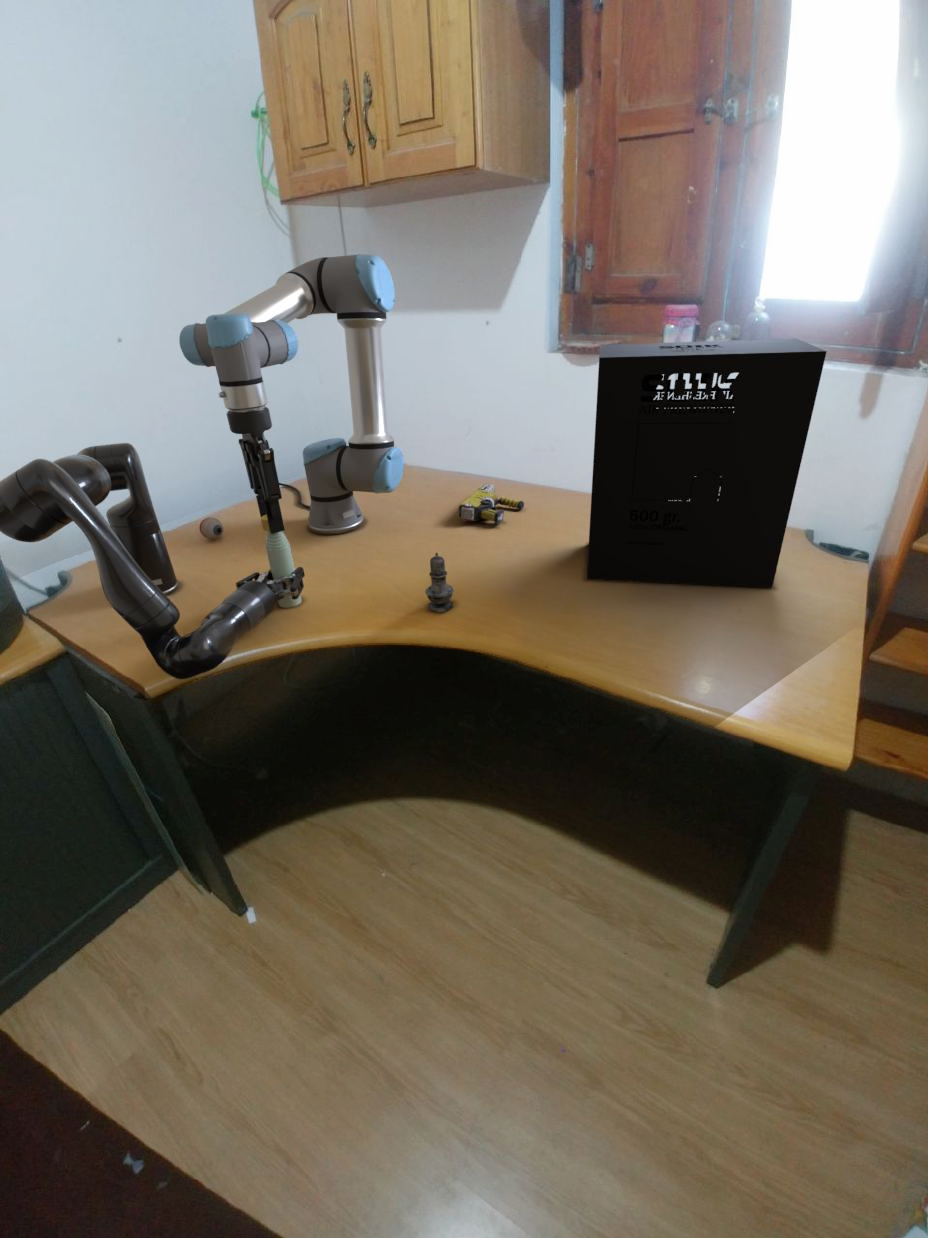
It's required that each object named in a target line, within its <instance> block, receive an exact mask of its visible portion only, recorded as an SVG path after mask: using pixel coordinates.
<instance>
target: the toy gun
mask: <svg viewBox="0 0 928 1238" xmlns="http://www.w3.org/2000/svg"><path fill="white" fill-rule="evenodd" d="M495 489H496V486H495V484H493V483H490V485H489V483H488V482H486V483H485V484H483V485H482V486H481V487H480V488H478V489H476V490H475V491H474V492H473V493H472V494H470V495H469V496H468V497H467V498H466V499H465V500H464V501H463V502H462V503H461V504H460V505H458V513H457V517H458V518H459V519H460V520H463V522H469V523H470V521H471V522H478V521H481V520H482V521H483V520H488V521H492V522H494V525H500V524H501V523H502V522H503V521H504V516H505V510H504V509H502V508H501V509H499V510H498V509H497V507H496V506H498V505H500V506H505V507H509V508H513V509H514V508H515V509H517V510H519V511H520V510H523V509H524V508H525V502H524V501H523V500H517V499H513V498H509V497H505V496H500V498H498V496H497V495H496V493H495Z"/></svg>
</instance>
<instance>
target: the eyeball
mask: <svg viewBox="0 0 928 1238" xmlns="http://www.w3.org/2000/svg"><path fill="white" fill-rule="evenodd" d="M198 529H199V533H200V534H201V535H202V537H203V538H205V539H206V540H210V541H211V540H212V541H213V540H217V539H219V538H221V537H222V535H223V533H224V525H223V522H222V521H221V520H219V519H218V518H216V517H210V516H209V517H206V518H204V519H203V520H201V522H200V523H199V528H198Z"/></svg>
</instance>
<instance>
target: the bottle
mask: <svg viewBox="0 0 928 1238" xmlns="http://www.w3.org/2000/svg"><path fill="white" fill-rule="evenodd" d="M266 532H267V531H266ZM265 538H266V539H265V550H266V555H267V559H268V564H269V568H270V569H271V572H272V577H273V580H275V579H277V578H279V577H281V576H284V577H286V576H288V575H290V574H291V573H292V572H293V571H294V570H296V568H295V563H294V558H293V554H292V549H291V544H290V541H289V540H288V538H287V536H286V534H285V533H284V531H281V532H278V533H274V534H271V532H267V534H266V537H265ZM281 583H282V582H281ZM289 584H291V580H289ZM301 596H302V595H301V594H300V595H299V597H298V599H292V596H285V597H284V598H283V599H281V600H279V601H277V603H278V605H279V607H281V608H285V609H289V608H294V607H298V606H299V605H300V604H301V603H302V597H301Z"/></svg>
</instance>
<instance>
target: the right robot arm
mask: <svg viewBox="0 0 928 1238" xmlns="http://www.w3.org/2000/svg"><path fill="white" fill-rule="evenodd" d="M395 300H396V291H395V285H394V281H393V277H392V274H391V272H390V269H389V268H388V265H387V263H386V262H385V261H384V260H383V259H382V258H381V257H379V256H378V255H376V254H363V253H358V254H351V255H350V254H349V255H337V256H323V257H322V256H321V257H317V258H315V259H311V260H309V261H306V262H304V263H302V264H300V265H298V266H296V267H294V268H292V269H291V270H288V271H287V272H285V273H283V274H282V275H280V276H279V277H278V278H277V279H276V282H275V284H274V285H272V286H270V287H269V288H266V289H265V290H264V291H261V292H260V293H258V294H257V295H255V296H253V297H251V298H249V299H248V300H246V301H244V302H242V303H239V305H237V306H234V308H232V309H229V310H227V311H226V312H224V313H221V314H211V315H208V316H207V317H206V318H205V322H204V323H200V322H199V323H198V322H195V323H192V324H187V325H185V326H184V327H182V329H181V331H180V333H179V340H178V341H179V348H180V349H181V353H182V355H183V356H184V358H185V359H186V360H187V361H188V362H189V363H190V364H192V365H195V366H199V367H200V366H202V367H206V368H211V367H215V370H216V374H217V378H218V384H219V387H220V390H221V391H220V392H218V397H219V398H220V399H222V400H223V404H224V408H226V409H227V410H228V411H227V412H226V417H227V422H228V426H229V430H230V432H231V433H233V434H234V435H235V434H236V435H241V437H242V438H238V444H239V446H240V450H241V453H242V456H243V457H242V458H243V462H244V465H245V469H246V470H245V471H246V473H247V478H248V482H249V487H250V489H251V490H253V493H254V494H255V498H256V503H257V507H258V511H259V515H260V518H261V517H262V516H264V515H267V519H268V524H269V528H270V532H271V534H274V533H278V532H281V531H283V532H284V531H286V529H285V524H284V520H283V514H282V510H281V505H280V501H279V500H282V498H283V496H282V491H281V486H282V487H285V488H290V489H292V490H293V491H295V492H296V493H297V495H298V504H299V505H300V506H301V507H303V508H306V509H309V513H308V521H307V522H308V523H307V524H308V528H309V529H308V530H310V531H311V532H312V533H314V534H317V535H323V536H324V535H325V536H327V535H329V536H331V535H339V534H340V535H341V534H345V533H350V532H353V531H355V530H357V529H359V528H361V527H362V526H363V525H364V523H365V519H364V514H363V512H362V510H361V508H360V505H359V504H358V501H357V500H356V498H355V495H354V492H359V493H374V494H376V495H377V494H390V493H392V492H394V491H395V490H396V489H397V488H398V487H399V485H400V483H401V481H402V478H403V474H404V467H405V458H404V457H405V456H404V454H403V450H402V449H401V448H399V447H398V446H395V438H394V437H393V436H392V435H391V434H389V432H388V419H387V405H386V404H387V403H386V389H385V375H384V374H385V372H384V357H383V341H382V327H383V326H384V325H385V324H386V323H387V321H388V320H387V319H388V318H387V313H389V312H390V311H392V310H393V308H394V305H395V303H394V302H395ZM319 314H336V320H337V323H339V325H340V326H341V327H342V328H343V329H344V338H345V350H346V351H345V353H346V360H347V361H346V363H347V374H348V375H347V376H348V386H349V396H350V398H349V399H350V408H351V420H352V431H353V433H352V435H351V436H350V437H349V438H348V441H346V439H345V438H342V437H334V438H328V439H323V440H320V441H319V440H318V441H316V442H313V443H309V444H308V445H306V446H305V447H304V448H303V450H302V457H303V458H302V460H303V467H304V471H305V477H306V481H307V486H308V492H309V498H310V505H308V504H304V503H303V502H302V494H301V492H300V490H299V489H297V488H296V487H295V486H292V485H291V484H287V483H281V482H280V481H279V476H278V471H277V467H276V462H275V451H274V449H273V447H270V443H269V441H268V439H266V437H265V431H269V430H271V428H272V427H273V423H272V418H271V413H270V409H269V408H268V406H267V405H268V402H269V401H268V396H267V391H266V387H265V381H264V380H263V375H262V369H263V368H267V367H271V366H276V365H284V364H285V363H287V362H290V361H292V360H294V358H295V357H296V355H297V353H298V350H299V340H298V336H297V333H296V332H295V330H294V329H293V327H292V326H291V325H290V324H289V323H290V322H292V321H293V320H295V319H296V320H303V319H306V318H307V317H309V316H313V315H319ZM347 444H348V445H347Z"/></svg>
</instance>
